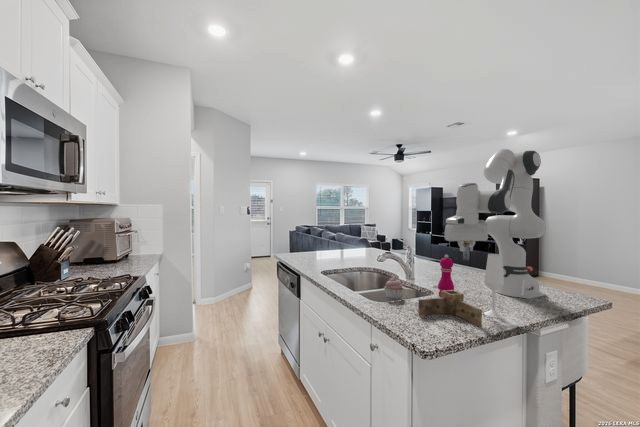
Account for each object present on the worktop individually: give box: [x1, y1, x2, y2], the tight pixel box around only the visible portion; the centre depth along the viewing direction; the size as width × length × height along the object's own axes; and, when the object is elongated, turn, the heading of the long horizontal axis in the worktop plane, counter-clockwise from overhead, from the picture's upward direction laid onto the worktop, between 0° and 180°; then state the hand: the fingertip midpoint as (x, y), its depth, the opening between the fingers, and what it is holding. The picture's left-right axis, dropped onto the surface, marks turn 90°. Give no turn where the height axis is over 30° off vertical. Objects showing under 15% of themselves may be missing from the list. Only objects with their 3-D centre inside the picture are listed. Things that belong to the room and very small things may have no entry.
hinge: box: [417, 289, 483, 327], centre depth 111 cm, size 18×18×8 cm
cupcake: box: [383, 276, 405, 301], centre depth 136 cm, size 9×9×10 cm
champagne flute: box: [483, 253, 504, 319], centre depth 116 cm, size 7×7×24 cm
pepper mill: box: [437, 254, 455, 298], centre depth 140 cm, size 7×7×20 cm
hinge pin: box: [462, 241, 470, 262], centre depth 129 cm, size 3×3×8 cm
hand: (466, 251), depth 129 cm, fingers closed on hinge pin, 2 cm apart
